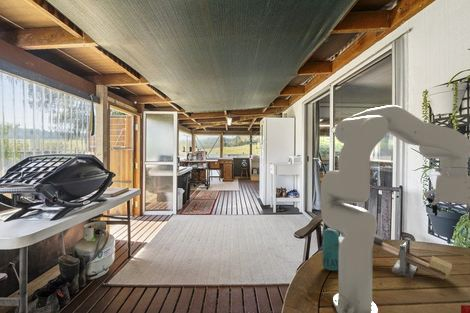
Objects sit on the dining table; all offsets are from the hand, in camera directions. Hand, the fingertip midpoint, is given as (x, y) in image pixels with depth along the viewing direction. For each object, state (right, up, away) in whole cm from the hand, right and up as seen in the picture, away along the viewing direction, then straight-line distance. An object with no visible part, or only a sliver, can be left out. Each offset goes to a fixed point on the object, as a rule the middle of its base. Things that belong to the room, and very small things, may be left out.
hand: (452, 217), depth 91 cm
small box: (-34, -24, +15) cm, 44 cm away
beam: (-12, -19, +10) cm, 25 cm away
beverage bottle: (-42, -24, +9) cm, 49 cm away
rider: (-3, -21, +2) cm, 21 cm away
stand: (-11, -24, +10) cm, 28 cm away
